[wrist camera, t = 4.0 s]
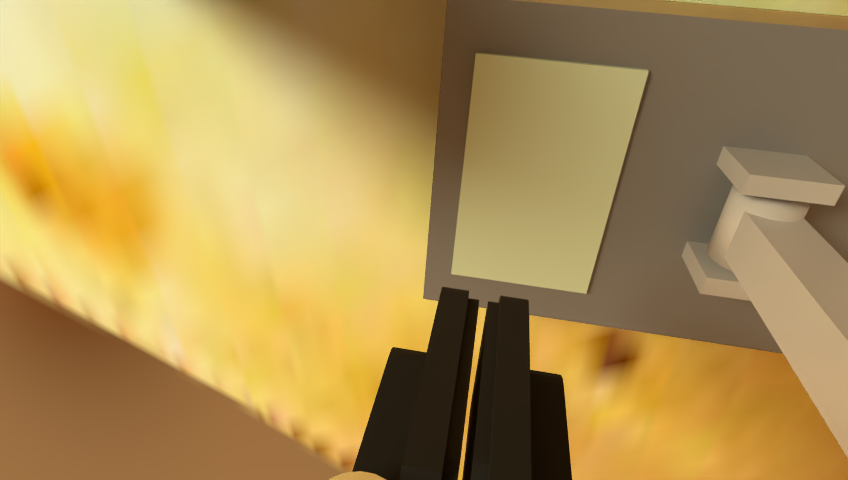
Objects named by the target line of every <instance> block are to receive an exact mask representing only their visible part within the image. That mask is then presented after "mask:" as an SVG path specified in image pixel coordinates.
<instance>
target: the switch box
mask: <svg viewBox="0 0 848 480" xmlns="http://www.w3.org/2000/svg"><path fill="white" fill-rule="evenodd" d="M733 185H734V186H735V187H736V188H737V190H738V191H739V192H740V193H741V194H742V195H750V196H758V197H766V198H774V199H782V200H790V201H798V202H807V203H809V204H810V208H809V210H808V212H807V214H806V216H805V218H804V219H805V220H806V221H807V222H808V223H809V224H810V225H811V226H812V227H813V228H814V229H815V230H816V231H817V232H818V233H819V234H820V235H821V236H822V237H823V238H824V239H825V240H826V241H827V242H828V243H829V244H830V245H831V246H832V247H833V248H834V249H835V250H836V251H837V252H838V253H839V254H840V256H841V257H842V258H843V259H844V260H845V261H846V262H847V263H848V17H847V16H836V15H824V14H813V13H802V12H790V11H779V10H767V9H756V8H744V7H733V6H721V5H710V4H699V3H687V2H676V1H664V0H447V11H446V23H445V36H444V48H443V61H442V73H441V85H440V98H439V110H438V123H437V135H436V147H435V160H434V172H433V185H432V197H431V209H430V222H429V234H428V246H427V259H426V271H425V284H424V296H423V299H429V300H436V301H439V297H440V293H441V289H442V287H448V288H455V289H461V290H468V291H469V298H471V299H478V300H479V307H482V308H487V304H488V301H491V302H497V303H498V302H499V298H500V295H501V296H507V297H514V298H520V299H527V300H528V301H529V315H534V316H541V317H547V318H554V319H560V320H567V321H573V322H580V323H586V324H593V325H600V326H606V327H613V328H619V329H626V330H632V331H639V332H645V333H652V334H659V335H665V336H672V337H678V338H685V339H691V340H698V341H705V342H711V343H718V344H724V345H731V346H737V347H744V348H750V349H757V350H764V351H770V352H777V353H783V352H782V351H781V349H780V347H779V346H778V344H777V343H776V341H775V339H774V338H773V336H772V334H771V333H770V331H769V330H768V328H767V326H766V325H765V323H764V321H763V320H762V318H761V317H760V315H759V313H758V312H757V310H756V308H755V307H754V305H753V304H752V302H751V300H750V299H749V297H748V295H747V294H746V292H745V291H744V289H743V287H742V286H741V284H740V282H739V281H738V279H737V278H736V276H735V274H734V273H733V272H732V271H730V270H728V269H725V268H724V267H722V266H720V265H718V264H717V263H716V262H714V261H713V260H712V259H711V258H710V257H709V255H708V254H707V247H708V245H709V242H710V240H711V237H712V235H713V232H714V230H715V227H716V225H717V222H718V220H719V218H720V215H721V213H722V210H723V208H724V205H725V203H726V200H727V198H728V195H729V193H730V190H731V188H732V186H733Z"/></svg>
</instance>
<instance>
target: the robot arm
mask: <svg viewBox="0 0 848 480" xmlns="http://www.w3.org/2000/svg"><path fill="white" fill-rule="evenodd" d="M478 307H479V300H478V299H471V298H469V291H468V290H461V289H455V288H448V287H442V289H441V293H440V297H439V301H438V306H437V310H436V315H435V319H434V323H433V328H432V332H431V336H430V341H429V345H428V349H427V353H426V352H420V351H414V350H407V349H401V348H395V347H393V348H392V349H391V352H390V354H389V357H388V361H387V364H386V367H385V370H384V373H383V376H382V380H381V383H380V386H379V389H378V392H377V395H376V398H375V402H374V405H373V408H372V411H371V414H370V417H369V421H368V424H367V427H366V430H365V433H364V436H363V440H362V443H361V446H360V449H359V452H358V455H357V459H356V462H355V465H354V468H353V471H352V472H347V473H343V474H341V475H338V476H336V477H333V478H330V479H329V480H458V473H459V465H460V458H461V450H462V441H463V433H464V424H465V416H466V408H467V399H468V391H469V383H470V374H471V366H472V357H473V349H474V341H475V332H476V324H477V316H478ZM462 480H572V475H571V463H570V452H569V441H568V430H567V418H566V407H565V396H564V385H563V378H562V376H561V375H558V374H552V373H546V372H540V371H534V370H530V343H529V301H528V300H527V299H520V298H514V297H507V296H501V295H500V298H499V302H498V303H497V302H491V301H488V304H487V310H486V316H485V322H484V328H483V334H482V341H481V347H480V353H479V359H478V365H477V371H476V377H475V383H474V389H473V395H472V401H471V408H470V416H469V425H468V434H467V443H466V452H465V461H464V470H463V479H462Z"/></svg>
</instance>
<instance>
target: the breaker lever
mask: <svg viewBox="0 0 848 480" xmlns="http://www.w3.org/2000/svg"><path fill="white" fill-rule="evenodd" d="M809 208H810V204H809V203H807V202H798V201H790V200H782V199H774V198H766V197H758V196H750V195H742V194H741V193H740V192H739V191H738V190H737V188H736V187H735V186H734V185H733V186H732V188H731V190H730V193H729V195H728V198H727V200H726V203H725V205H724V208H723V210H722V213H721V215H720V218H719V220H718V222H717V225H716V227H715V230H714V232H713V235H712V237H711V240H710V242H709V245H708V247H707V254H708V255H709V257H710V258H711V259H712V260H713V261H714V262H716V263H717V264H718V265H720V266H722V267H724V268H725V269H728V270H730V271H732V272H733V273H734V274H735V276H736V278H737V279H738V281H739V282H740V284H741V286H742V287H743V289H744V291H745V292H746V294H747V295H748V297H749V299H750V300H751V302H752V304H753V305H754V307H755V308H756V310H757V312H758V313H759V315H760V317H761V318H762V320H763V321H764V323H765V325H766V326H767V328H768V330H769V331H770V333H771V334H772V336H773V338H774V339H775V341H776V343H777V344H778V346H779V347H780V349H781V351H782V352H783V354H784V356H785V357H786V359H787V360H788V362H789V364H790V365H791V367H792V369H793V370H794V372H795V373H796V375H797V377H798V378H799V380H800V382H801V383H802V385H803V386H804V388H805V390H806V391H807V393H808V395H809V396H810V398H811V399H812V401H813V403H814V404H815V406H816V408H817V409H818V411H819V412H820V414H821V416H822V417H823V419H824V421H825V422H826V424H827V425H828V427H829V429H830V430H831V432H832V434H833V435H834V437H835V438H836V440H837V442H838V443H839V445H840V447H841V448H842V450H843V451H844V453H845V455H846V456H847V458H848V263H847V262H846V261H845V260H844V259H843V258H842V257H841V256H840V254H839V253H838V252H837V251H836V250H835V249H834V248H833V247H832V246H831V245H830V244H829V243H828V242H827V241H826V240H825V239H824V238H823V237H822V236H821V235H820V234H819V233H818V232H817V231H816V230H815V229H814V228H813V227H812V226H811V225H810V224H809V223H808V222H807V221H806V220H805V219H804V218H805V216H806V214H807V212H808V210H809Z"/></svg>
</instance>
